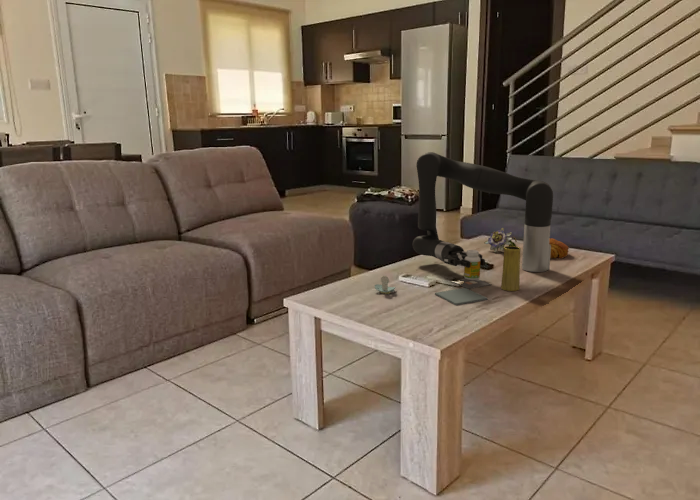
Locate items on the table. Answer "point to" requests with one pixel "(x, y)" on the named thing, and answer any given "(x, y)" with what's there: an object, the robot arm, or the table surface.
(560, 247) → the croissant
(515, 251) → the vase
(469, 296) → the slate pad
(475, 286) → the dark gray tile
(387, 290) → the pacifier
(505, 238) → the passion flower
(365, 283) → the table surface
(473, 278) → the supplement bottle
